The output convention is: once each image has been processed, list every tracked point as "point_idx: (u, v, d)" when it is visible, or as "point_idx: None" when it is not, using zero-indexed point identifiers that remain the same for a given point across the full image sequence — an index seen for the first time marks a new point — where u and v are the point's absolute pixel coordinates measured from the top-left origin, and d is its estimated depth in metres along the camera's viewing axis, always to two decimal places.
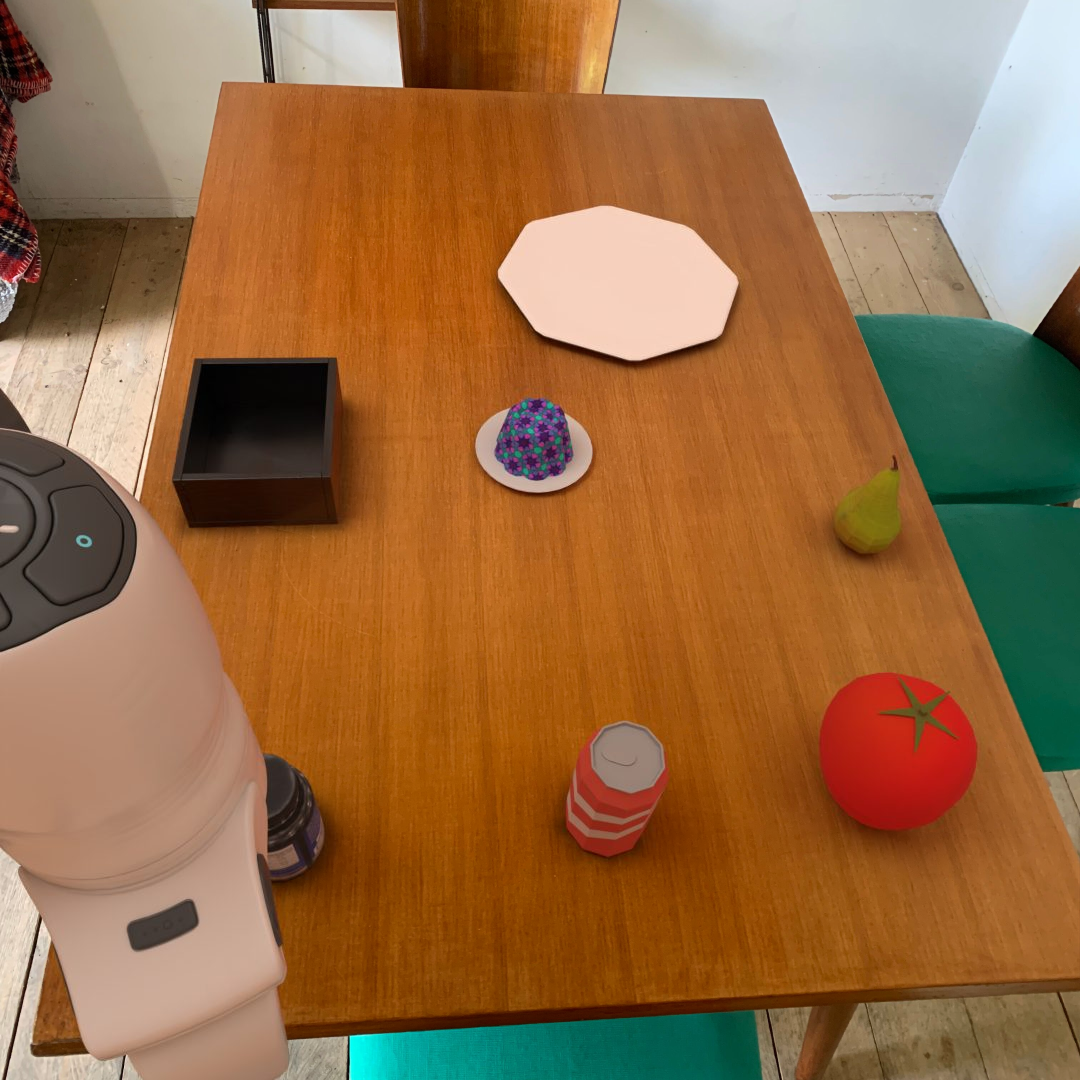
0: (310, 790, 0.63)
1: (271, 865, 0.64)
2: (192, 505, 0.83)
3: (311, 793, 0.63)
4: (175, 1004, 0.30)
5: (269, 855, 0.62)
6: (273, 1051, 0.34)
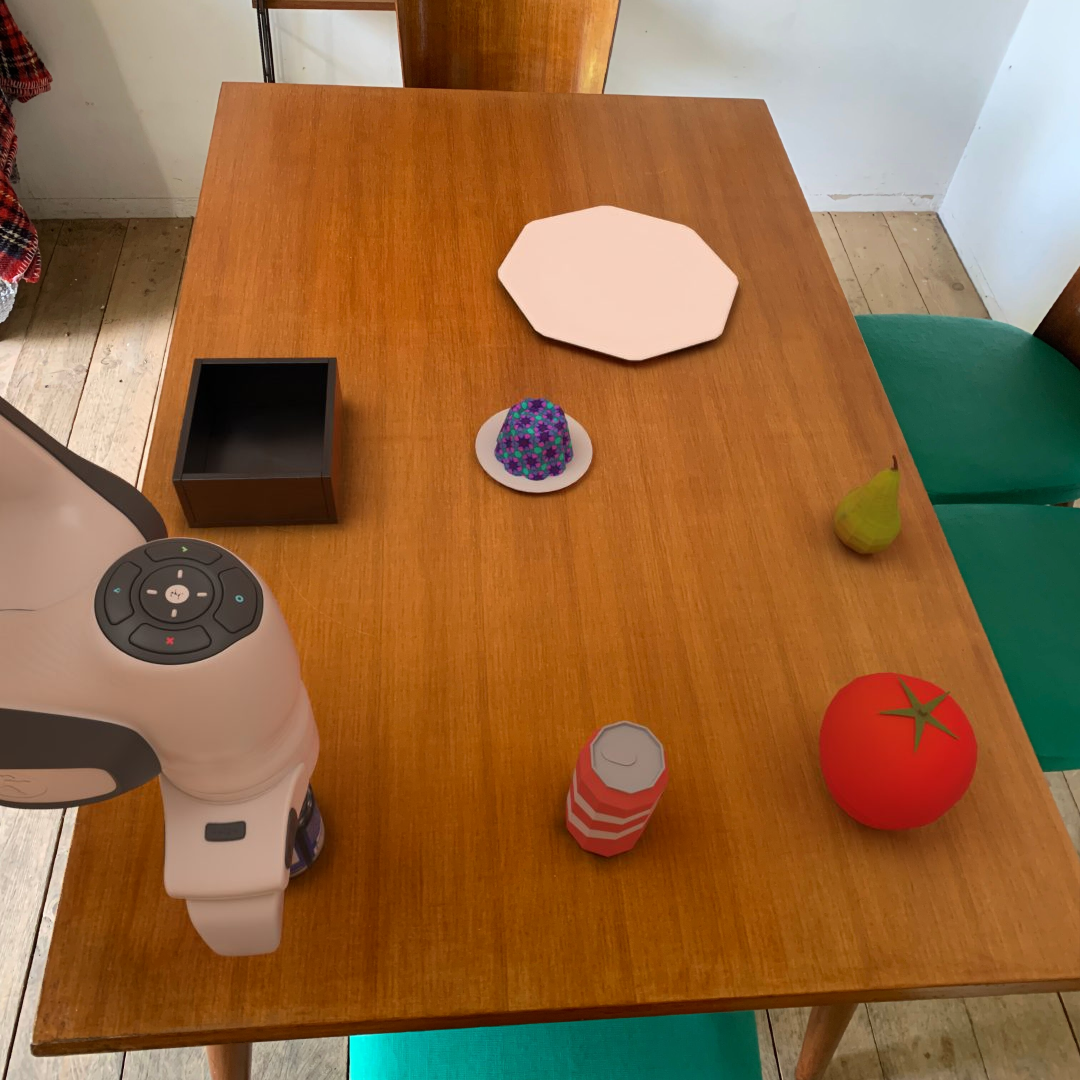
0: (310, 790, 0.63)
1: None
2: (192, 505, 0.83)
3: (311, 793, 0.63)
4: (218, 879, 0.49)
5: None
6: (268, 932, 0.53)
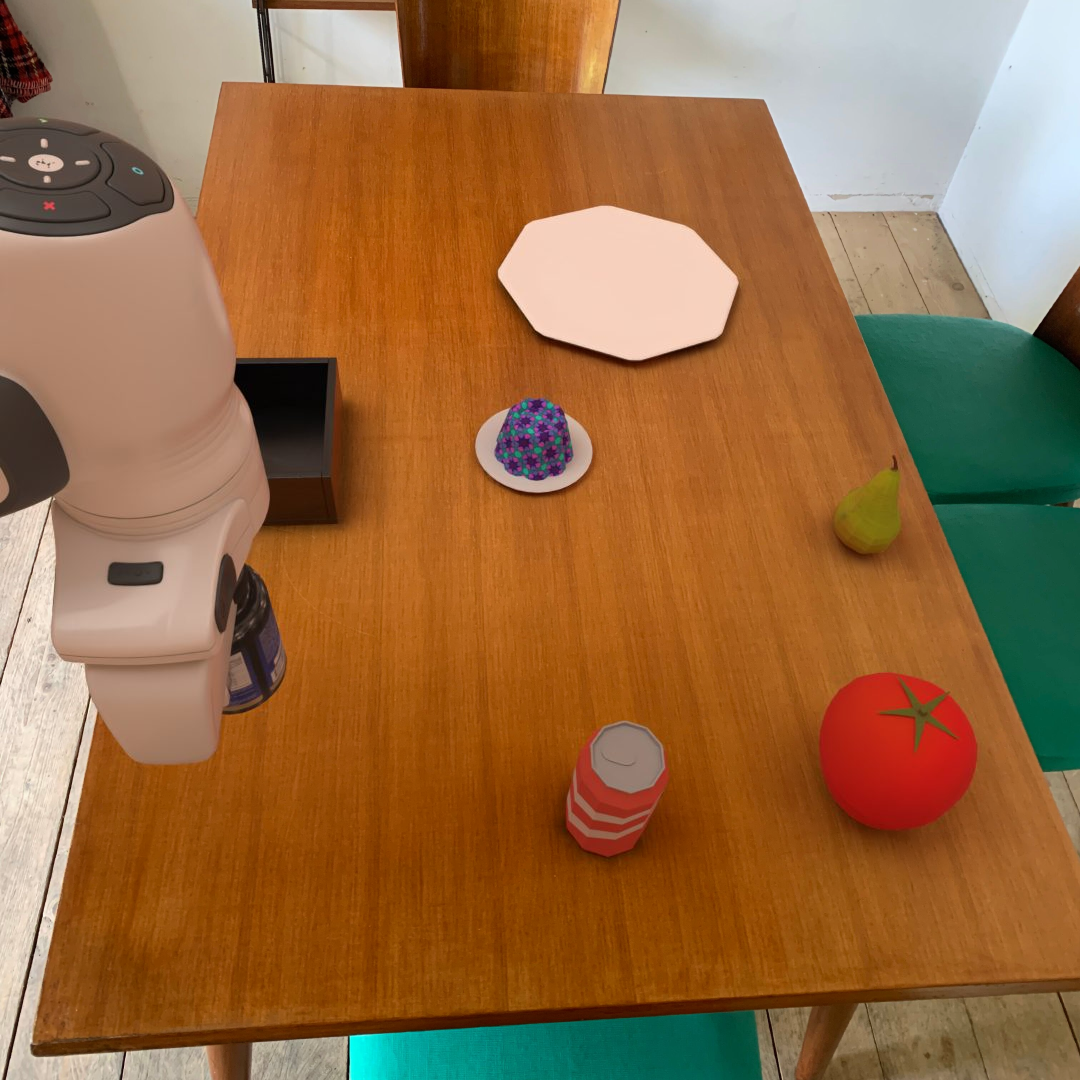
0: (265, 589, 0.51)
1: None
2: None
3: (266, 593, 0.51)
4: (123, 631, 0.37)
5: None
6: (196, 723, 0.40)
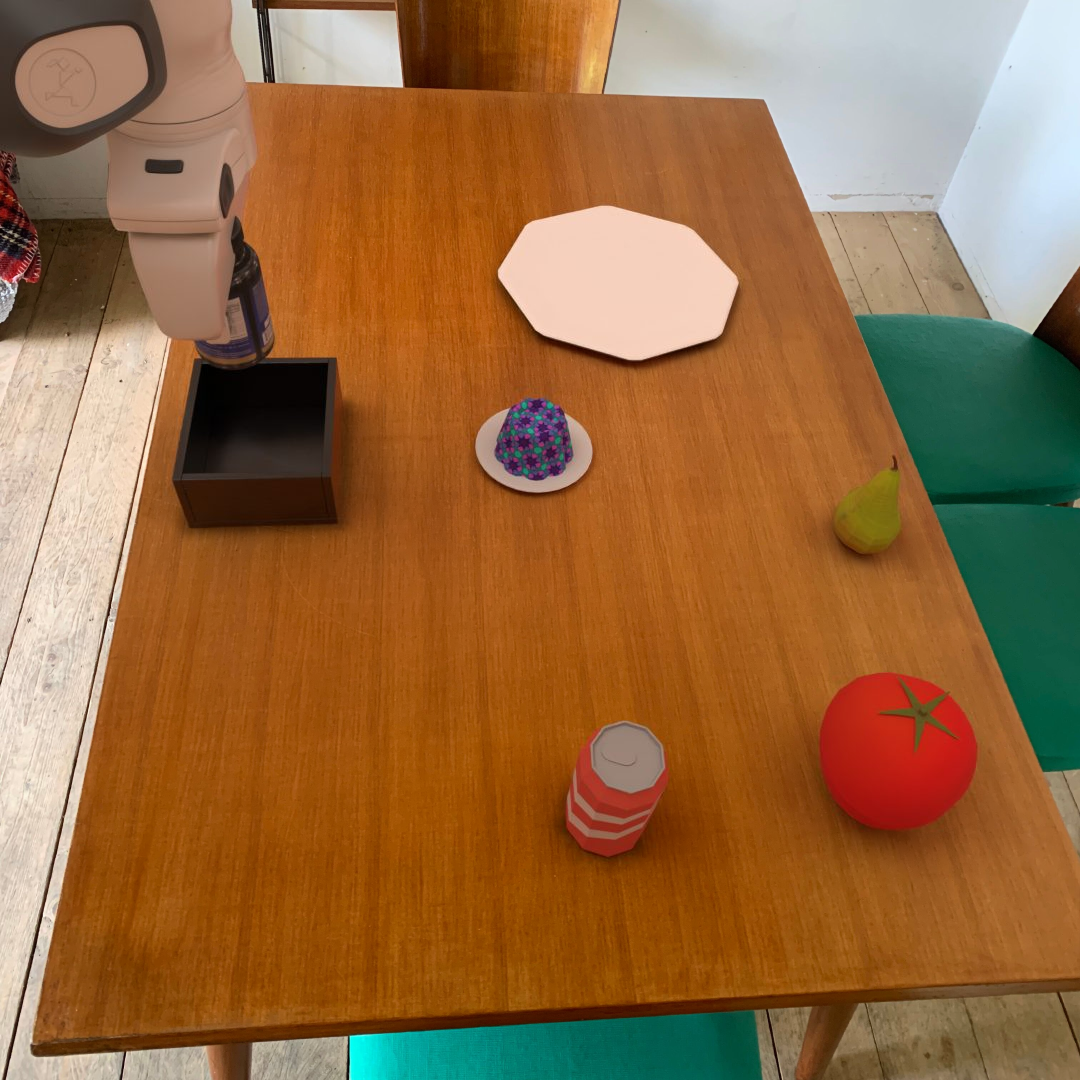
0: (257, 256, 0.67)
1: None
2: (192, 505, 0.83)
3: (258, 258, 0.67)
4: (156, 200, 0.53)
5: None
6: (207, 290, 0.57)
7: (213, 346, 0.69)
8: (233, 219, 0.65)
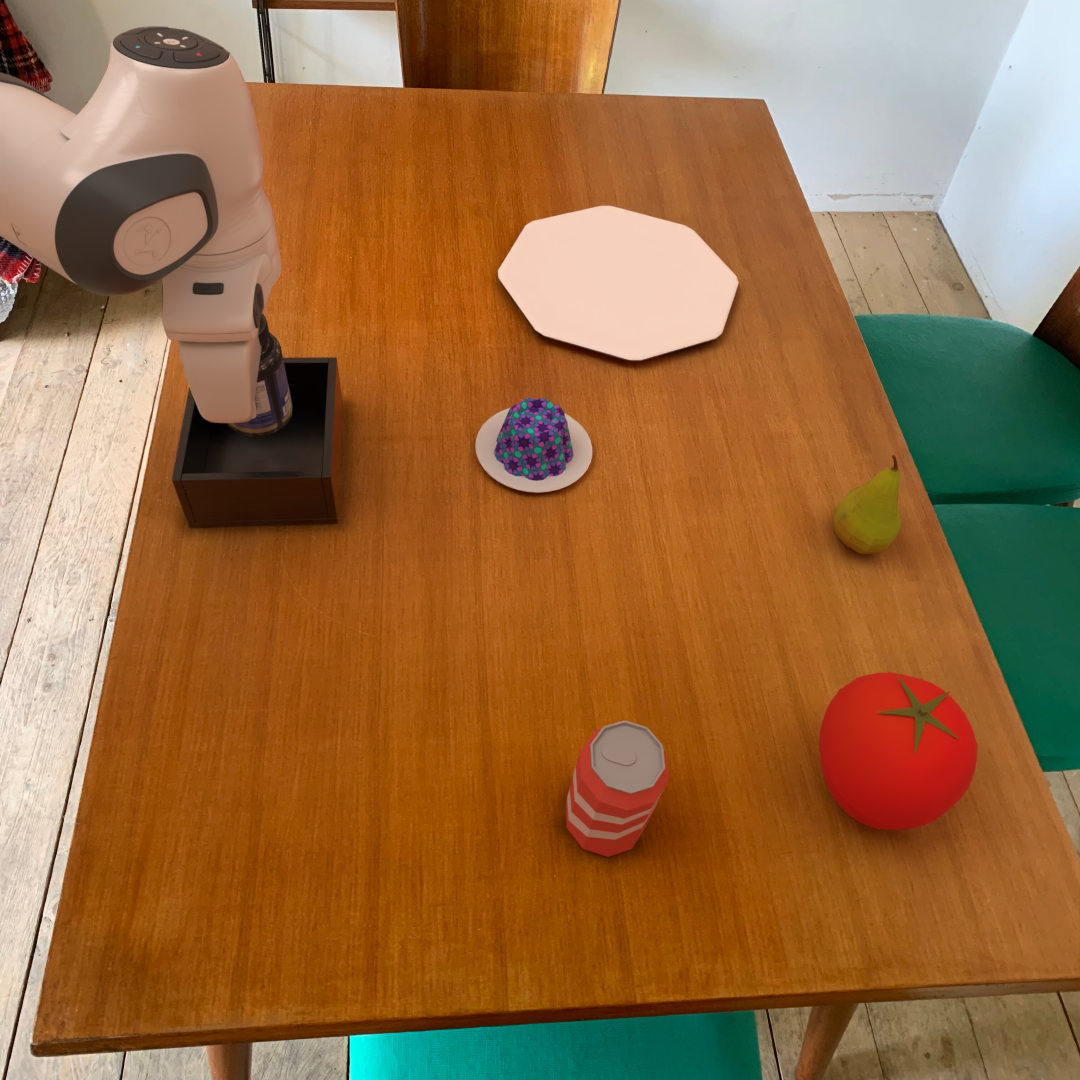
0: (279, 344, 0.80)
1: None
2: (192, 505, 0.83)
3: (279, 346, 0.80)
4: (202, 317, 0.66)
5: None
6: (241, 385, 0.69)
7: None
8: None
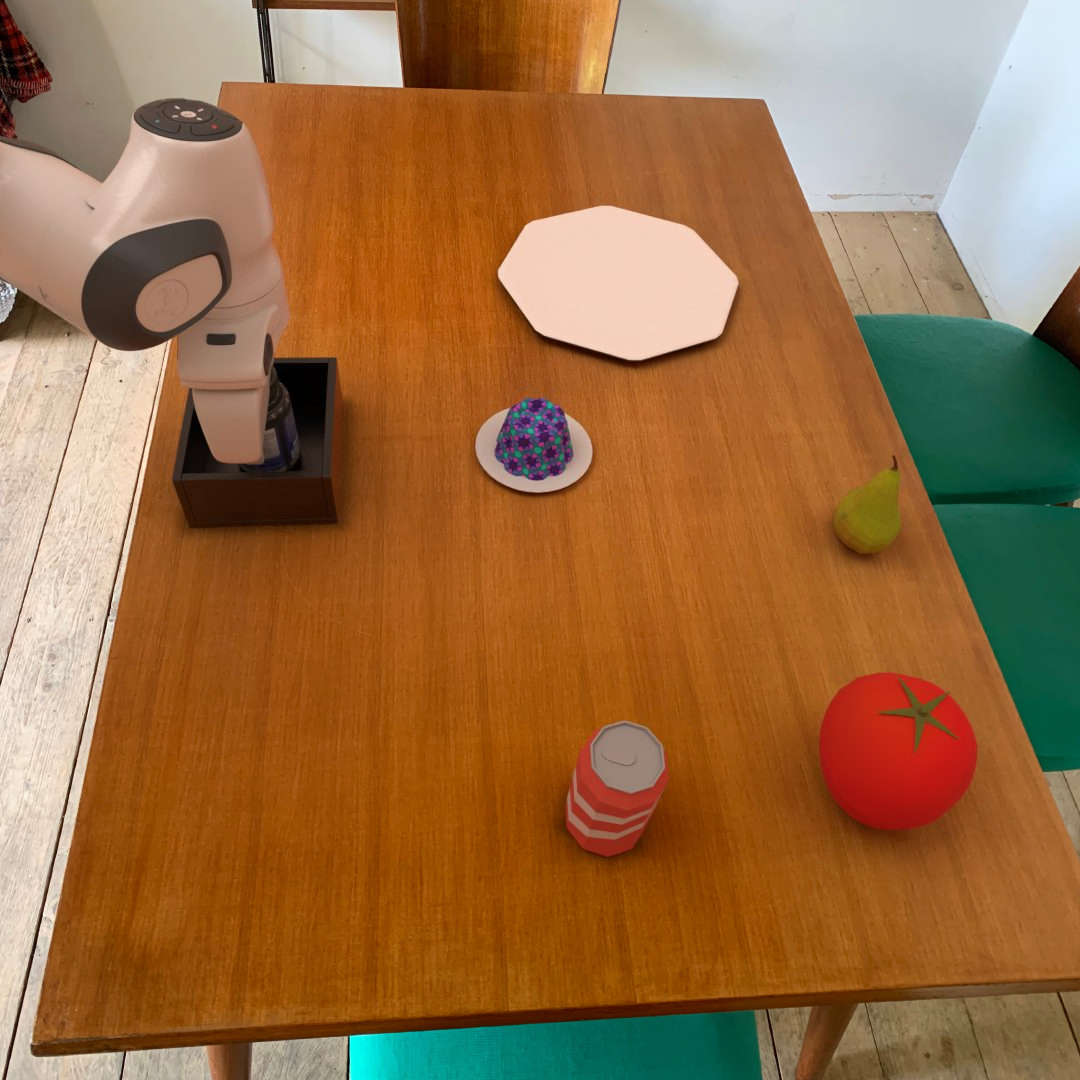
0: (288, 393, 0.84)
1: None
2: (192, 505, 0.83)
3: (288, 395, 0.84)
4: (215, 367, 0.70)
5: None
6: (252, 429, 0.73)
7: None
8: None
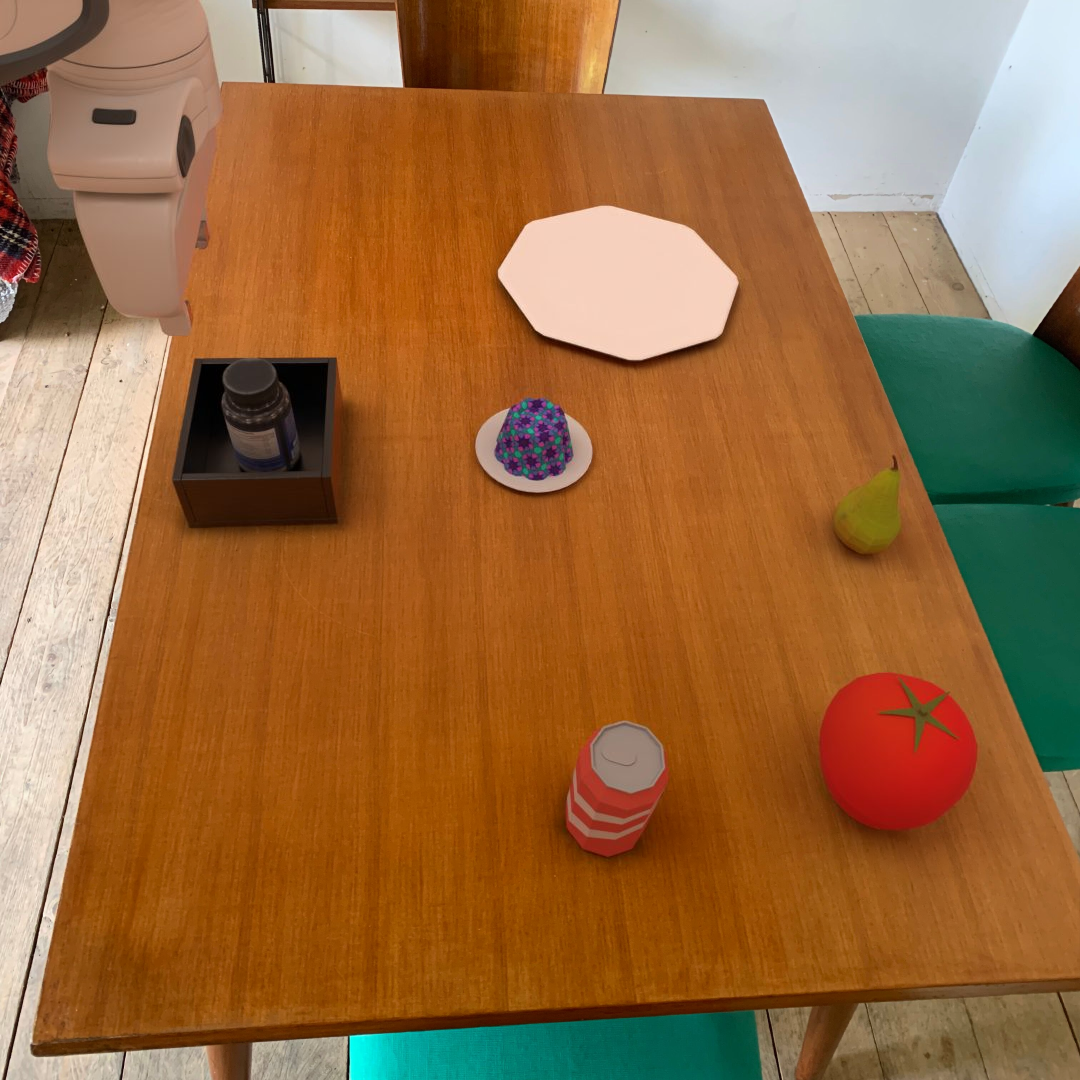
0: (288, 393, 0.84)
1: (259, 452, 0.85)
2: (192, 505, 0.83)
3: (288, 395, 0.84)
4: (104, 153, 0.47)
5: (257, 435, 0.83)
6: (163, 259, 0.50)
7: (252, 462, 0.86)
8: (196, 187, 0.58)
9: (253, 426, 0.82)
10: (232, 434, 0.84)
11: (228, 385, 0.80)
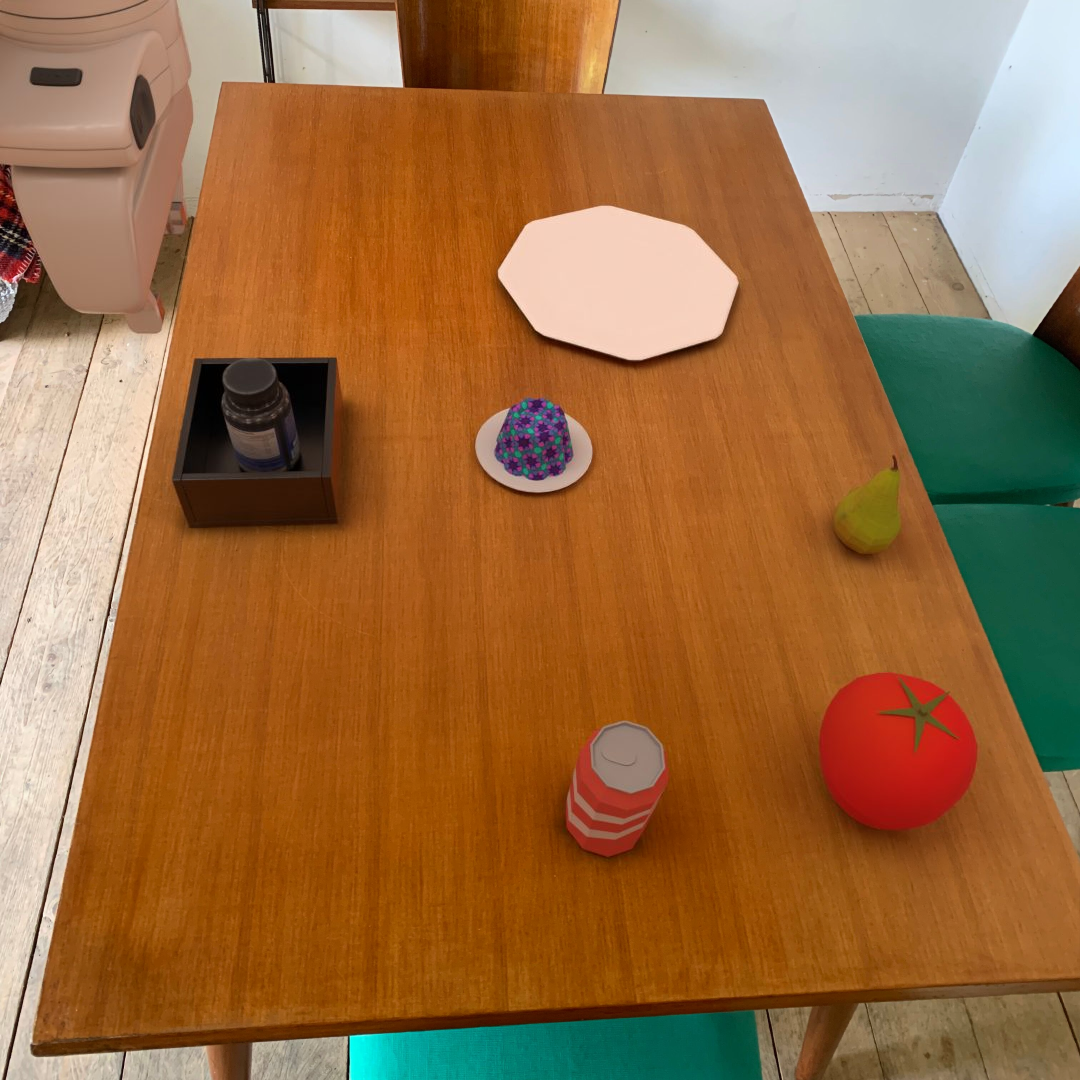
0: (288, 393, 0.84)
1: (259, 452, 0.85)
2: (192, 505, 0.83)
3: (288, 395, 0.84)
4: (43, 120, 0.40)
5: (257, 435, 0.83)
6: (119, 245, 0.43)
7: (252, 462, 0.86)
8: (165, 162, 0.51)
9: (253, 426, 0.82)
10: (232, 435, 0.84)
11: (228, 385, 0.80)
